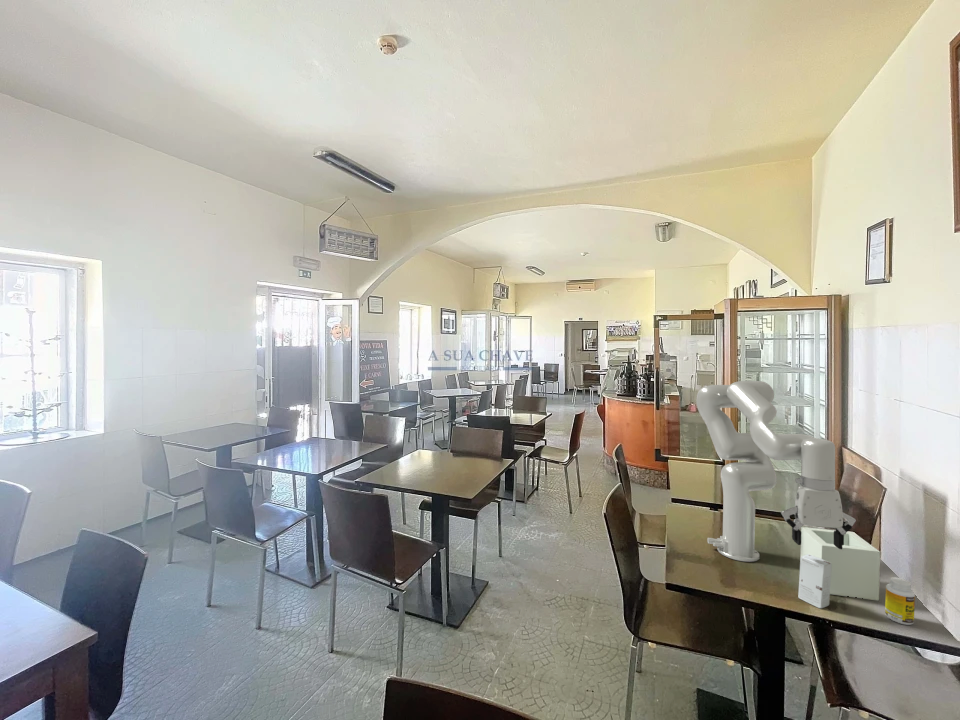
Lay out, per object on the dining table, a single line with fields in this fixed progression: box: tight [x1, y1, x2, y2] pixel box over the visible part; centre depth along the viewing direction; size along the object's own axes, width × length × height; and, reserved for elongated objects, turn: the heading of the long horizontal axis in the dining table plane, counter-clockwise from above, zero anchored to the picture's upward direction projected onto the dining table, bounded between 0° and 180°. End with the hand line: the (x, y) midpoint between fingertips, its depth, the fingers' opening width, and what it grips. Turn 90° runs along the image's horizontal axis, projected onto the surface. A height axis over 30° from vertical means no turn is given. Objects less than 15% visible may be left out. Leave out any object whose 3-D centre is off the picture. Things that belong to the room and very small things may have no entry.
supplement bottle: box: [884, 577, 916, 626], centre depth 116 cm, size 6×6×10 cm
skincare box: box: [797, 554, 832, 609], centre depth 123 cm, size 6×4×12 cm
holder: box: [799, 526, 881, 601], centre depth 133 cm, size 14×14×14 cm
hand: (817, 545), depth 123 cm, fingers open, 9 cm apart
